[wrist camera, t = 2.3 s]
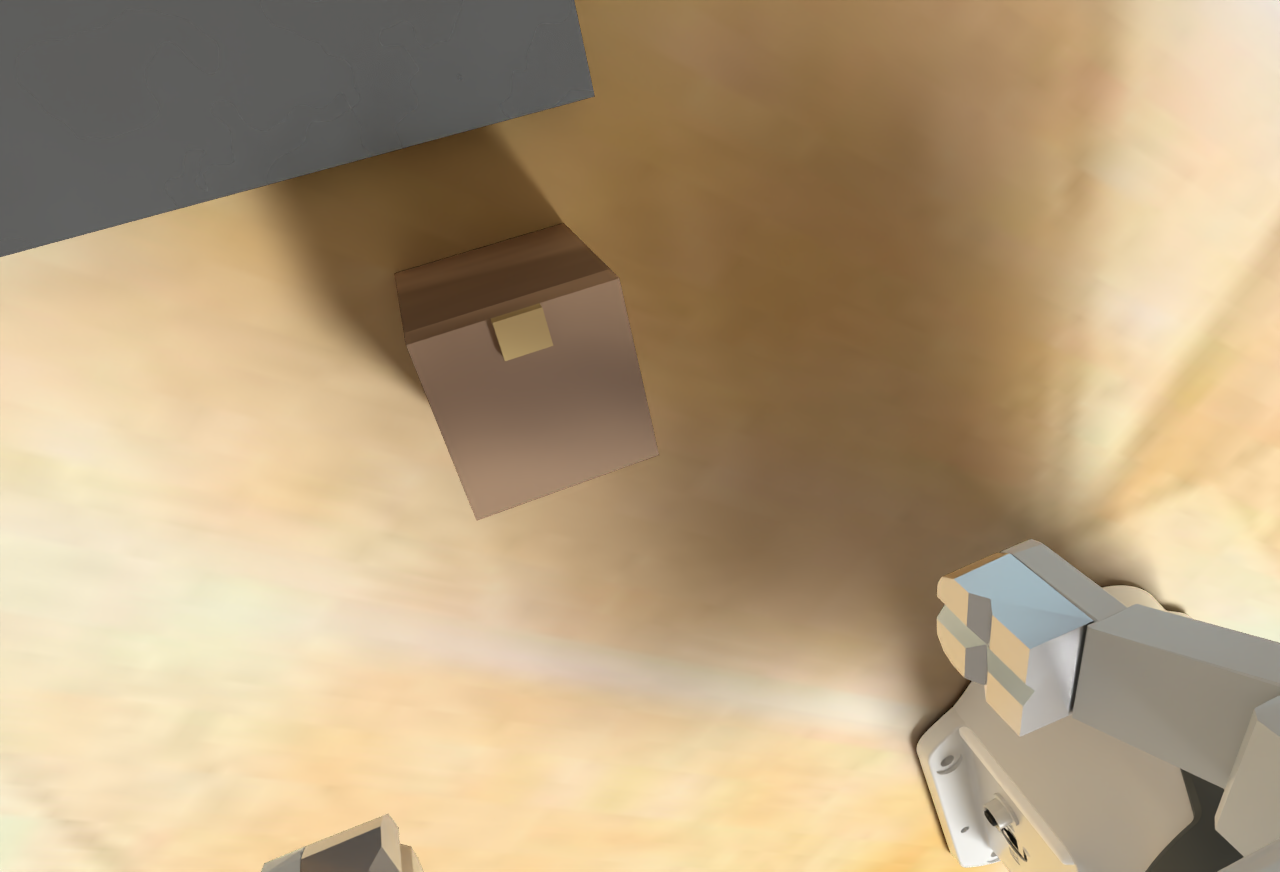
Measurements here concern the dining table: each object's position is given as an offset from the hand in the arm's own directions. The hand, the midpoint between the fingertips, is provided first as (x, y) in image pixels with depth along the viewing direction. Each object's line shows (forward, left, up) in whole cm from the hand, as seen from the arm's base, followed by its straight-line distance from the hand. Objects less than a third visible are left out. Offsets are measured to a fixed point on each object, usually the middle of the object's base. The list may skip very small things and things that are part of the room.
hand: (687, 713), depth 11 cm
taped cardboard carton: (0, 0, -16) cm, 16 cm away
